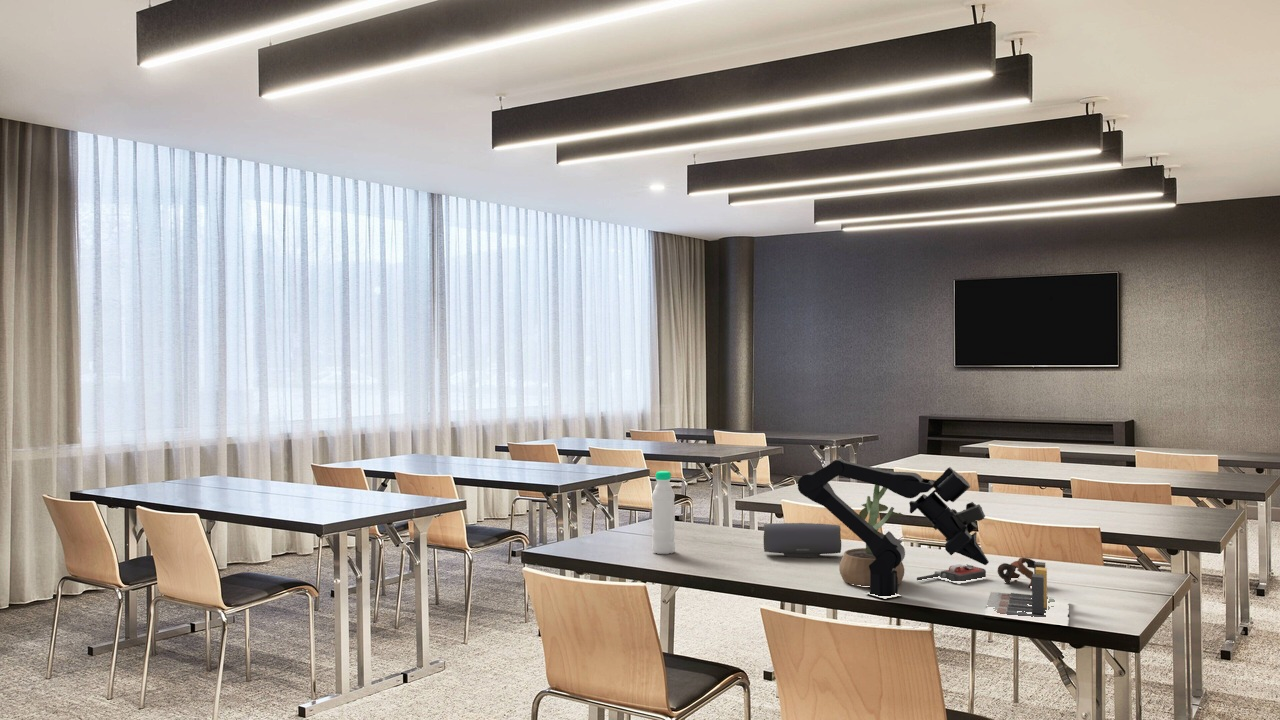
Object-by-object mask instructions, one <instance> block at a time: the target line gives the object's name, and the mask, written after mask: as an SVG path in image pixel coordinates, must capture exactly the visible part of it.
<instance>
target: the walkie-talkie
mask: <svg viewBox="0 0 1280 720" xmlns="http://www.w3.org/2000/svg"><path fill="white" fill-rule="evenodd" d="M986 573H987V571H986V569H985V568H982V567H978V566H974V565H972V564H971V565H970V564H968V563H967V564H966V565H965V564H955V565H950V566H949V567H948V569H943V570H936V571H934V573H933V574H928V575H923V576H918V577H916V580H917V581H918V580H922V579H927V578H933V577H938V576H940V577H941V578H947V579H949V580H951V581H966V580H971V579H977V578H982V577H986V578H987V574H986ZM933 579H934V578H933ZM927 580H928V579H927ZM922 581H923V580H922Z"/></svg>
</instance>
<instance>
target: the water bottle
mask: <svg viewBox="0 0 1280 720" xmlns="http://www.w3.org/2000/svg"><path fill="white" fill-rule="evenodd" d="M671 479H672V474H671V472H670V471H668V470H667V471H666V470H665V471H664V470H662V471H661V470H660V471H656V473H655V481H656V485H655V486H654V490H653V491H652V493H651V498H652V504H651V507H652V508H651V509H652V510H651V520H652V521H651V522H652V531H651V534H652V535H651V536H652V537H651V538H652V544H651V545H652V546H651V551H652V552H653V553H654V554H656V553H657V555H670V554H669V553H671V554H673V553H675V551H676V545H675V544H676V542H675V536H676V531H675V521H676V517H675V516H676V509H675V497H676V496H675V492H674V490H673V487H672V485H671V484H670V481H671Z"/></svg>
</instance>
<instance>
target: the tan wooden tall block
mask: <svg viewBox="0 0 1280 720" xmlns="http://www.w3.org/2000/svg"><path fill="white" fill-rule="evenodd" d="M1035 574H1039V575H1044V608H1047V596H1048V585H1047V584H1048V568H1047V567H1045V568H1041V567H1036V569H1035Z"/></svg>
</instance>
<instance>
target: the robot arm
mask: <svg viewBox="0 0 1280 720" xmlns="http://www.w3.org/2000/svg"><path fill="white" fill-rule="evenodd" d="M838 476H839V477H843V478H848V479H852V480H855V481H859V482H863V483H868V484H872V485H874V486H875V485H879V486H880V487H881V488H883V487H885V488H887V490H889V491H890V492H892V493H894V494H897V495H899V496H901V497H903V498H905V499H914V498H916V497H918V496H919V495H920V494H921V496H919V497H918V498H916V500H915V501H913V500H910V501H909V503H908V504H909V513H910V514H913V513H914V512H915V511H917V510H918V511H919V512H920V513H921V514H922V515H923V516H924V517H925V518H926V519H927V521H929V522H930V523H931V524H932V528H933V529H934V530H935V531H937V530H938V532H940V533H941V535H942V536H944V538H945V540H944V541H946V543H945V544H944V545H945V551H946V552H947V553H948V554H949V555H950V556H953V555H954V554H955V553H956V554H959V555H962V556H963V557H966V558H968V559H971V560H973V561H975V562H977V563H979V564H981V565H984V566H987V565H988V564H989V559H988V558H987V556H986V555H985V553H984V552H983V550H982V549H981V547H980V545H979V543H978V542H977V531H975V532H974V533H972V531H974V530H976V529H977V528H978V525H977V524H976V523H975V522H980V521H983V520H985V518H986V515H985V513H984V510H983V507H982V506H981V505H980V504H975V502H973V501H971V502H969V503H966V505H965V509H962V510H960V511H957V510H956V509H954V508H952V509H951V508H950V507H949V506H948V505H947V504H946V503H948V502H949V501H950V503H951V502H952V503H954V502H956V500H958V499H959V498H960V497H961V496H962V495H963V494H964V493H966V492H967V491H968V490H969V489H970V488H971V485H970V483H969V482H968V481H967V479H966V478H965V477H964V476H962V475H960V474H959V473H958V472H957V471H956V470H954V469H953V468H952V467H948V468H946V469H945V470H944V472H943V473H942V474H941V475H940V476H939V477H937V479H936V480H934V479H929V478H923V477H922V476H921V474H918V473H916V472H911V471H887V470H884V469H881V468H880V469H876V468H875V467H872V466H868V465H863V464H859V463H855V462H851V461H848V460H844V458H843V459H842V458H836V459H834V460H832V461H831V462H830V463H829V464H827V465H826V466H824V467H822V468H821V469H819V470H818V471H810V472H808V473H806V474H803V475H802V476H801V477H800V478H799V479H798V481H797V489H798V491H799V493H800V494H801V495H802V496H804V497H806V498H807V499H809V500H810V501H811V502H814V503H816V504H818V505H821V506H822V507H824V508H826V509H827V511H828V512H829V513H831V514H832V515H833V516H834V517H835V518H837V520H839V521H840V522H841V523H842V524H843V525H844V526H846V527H847V528H848V529H849V530H850V531H851V532H852V533H854V535H856V536H857V537H858V538H859V539H860V540H862V542H864V543H865V545H866V544H867V546H868V547H869V549H870V551H871V552H872V554H873V555H874V557H875V558H876V559H875V560H874V561H873V562H872V563H871V564H870V565H869V569H870V588H869V590H870V591H869V592H870V594H875V595H878V596H891V595H895V593H899V591H898V590H899V589H898V586H899V584H898V577H897V571H895V570H894V569H896V567H897V566H898V565H899V564H900V563H901V562H902V563H903V561H904V559H905V557H906V551H905V547H904V546H903V544H902V540H900V539H898V538H896V537H895V536H894V534H893V533H892V532H891V531H889V530H887V532H886V533H885V534H884V533H882V532H880V531H877V530H876V529H874V528H873V527H872V526H871V525H870V524H869V523H868V521H866V519H865V520H864V519H863V518H862V517H861V516H860V515H859V513H857V512H856V511H855V510H854V509H853V508H852V507H851V506H849V504H847V503H846V502H845V501H844V500H843V499H841V497H839V496H838V495H837V493H836V492H835V491H834V490H833V487H832V486H831V484H830V483H829V482H830V481H832V480H834V479H835V478H837V477H838ZM933 488H934V490H933V491H932V492H931V493H929V494H928V495H926V494H925V493H928V492H930V491H931V489H933ZM971 533H972V534H971Z"/></svg>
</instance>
